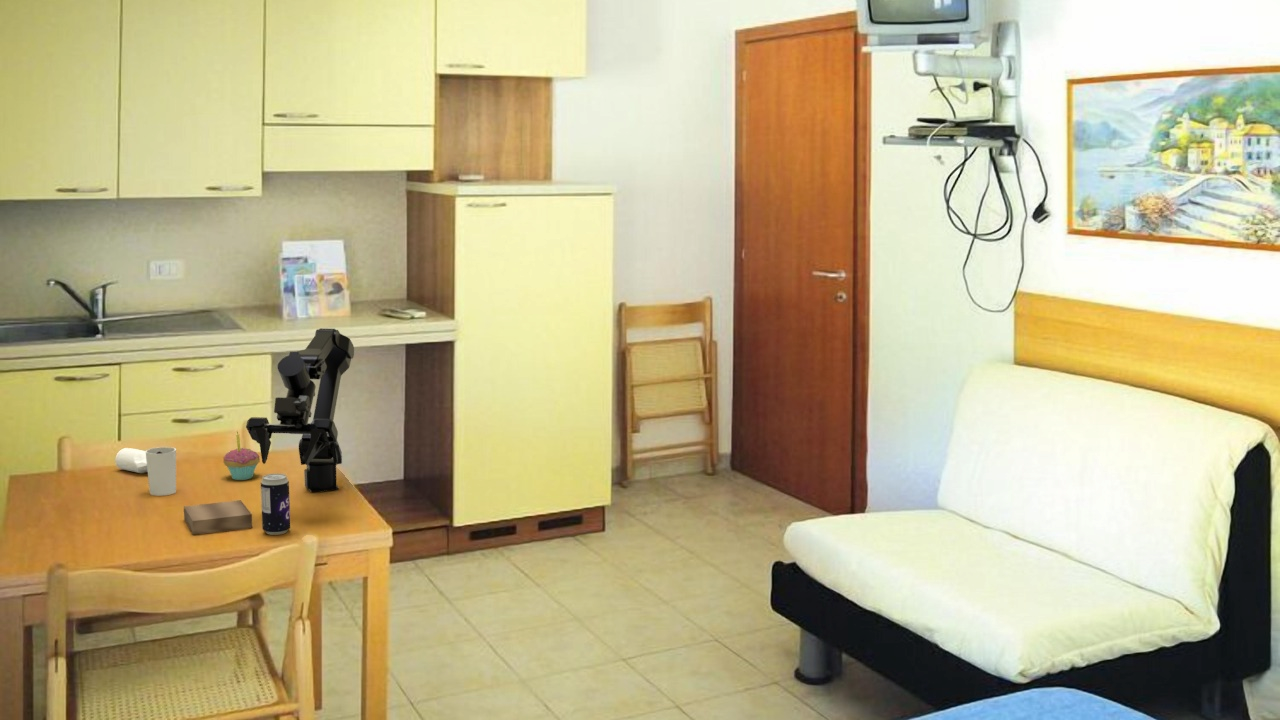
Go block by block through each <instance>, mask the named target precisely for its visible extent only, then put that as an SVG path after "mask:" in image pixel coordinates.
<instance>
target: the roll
mask: <svg viewBox="0 0 1280 720" xmlns="http://www.w3.org/2000/svg"><path fill="white" fill-rule="evenodd" d="M114 463H115V466H116V467H117V468H118V469H120V470H124V471H129V472H134V473H138V474H144V473H148V470H147V461H146V450H141V449H138V448H130V447H124V448H122V449H120V450H119V451H118V452H117V454H116V455H115V459H114Z"/></svg>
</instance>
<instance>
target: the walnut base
mask: <svg viewBox="0 0 1280 720" xmlns="http://www.w3.org/2000/svg"><path fill="white" fill-rule="evenodd" d="M183 518H184V519H183V521H184V522H185V523H186V526H188V528H189V530H190V531H191V534H192V536H196V535H198V536H199V535H203V534H204V535H205V534H212V533H213V534H215V533H221V532H223V533H224V532H229V531H237V530H239V531H240V530H246V529H253V514H252V513H251V511H250V510H249V508H248V507H247V506H246V505H245V504H244V502H243V501H242V500H229V501H222V502H212V503H203V504H195V505H185V506H183Z"/></svg>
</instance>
